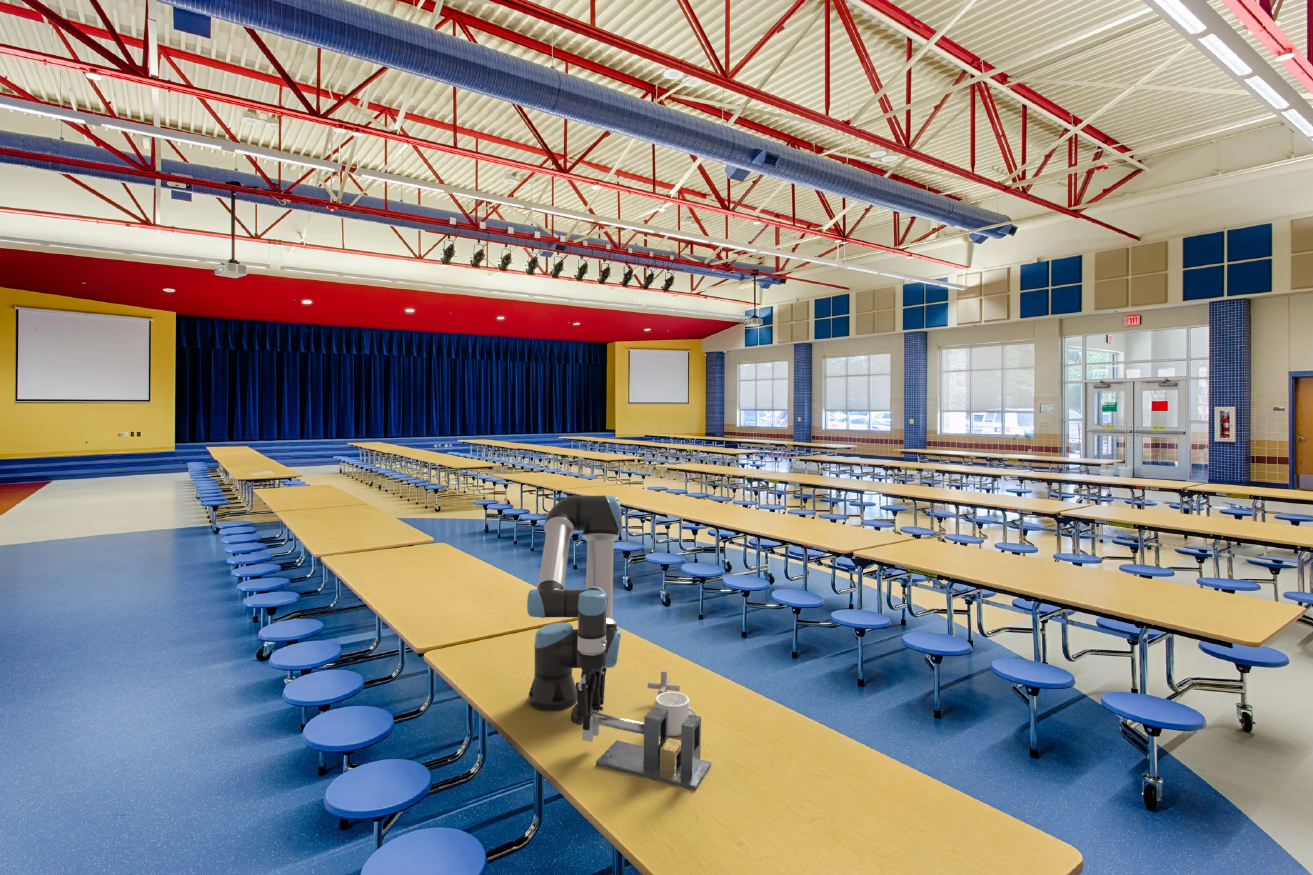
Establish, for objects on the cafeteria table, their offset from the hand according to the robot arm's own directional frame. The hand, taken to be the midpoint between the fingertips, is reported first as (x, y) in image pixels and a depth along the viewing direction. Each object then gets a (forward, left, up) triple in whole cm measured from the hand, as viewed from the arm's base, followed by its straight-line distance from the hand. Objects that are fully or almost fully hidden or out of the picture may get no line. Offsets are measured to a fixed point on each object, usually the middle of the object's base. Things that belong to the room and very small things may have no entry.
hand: (590, 737), depth 175 cm
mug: (+17, +20, -4) cm, 26 cm away
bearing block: (+19, 0, -4) cm, 19 cm away
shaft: (+7, 0, +3) cm, 7 cm away
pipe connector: (+7, +35, -4) cm, 36 cm away
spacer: (+23, 0, -3) cm, 23 cm away
